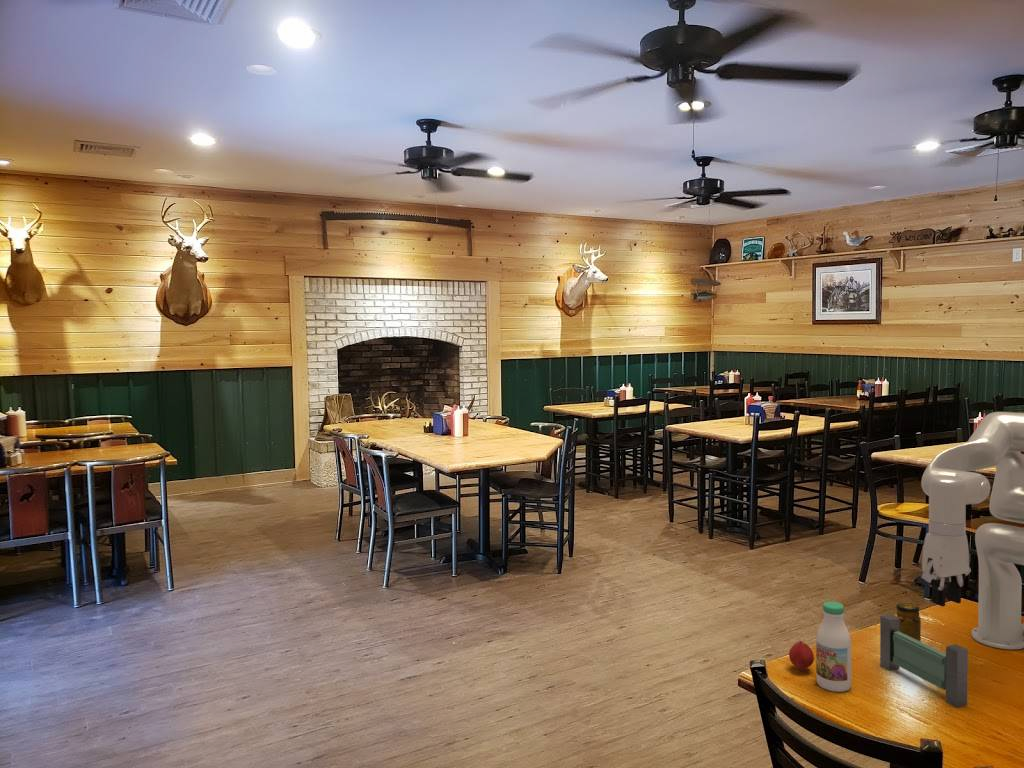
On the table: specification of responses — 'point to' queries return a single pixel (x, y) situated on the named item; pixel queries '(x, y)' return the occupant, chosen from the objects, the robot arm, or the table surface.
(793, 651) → the onion
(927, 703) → the table surface
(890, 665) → the gate posts
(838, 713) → the table surface
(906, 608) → the condiment
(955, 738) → the table surface
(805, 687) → the table surface
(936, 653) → the gate
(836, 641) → the milk bottle
